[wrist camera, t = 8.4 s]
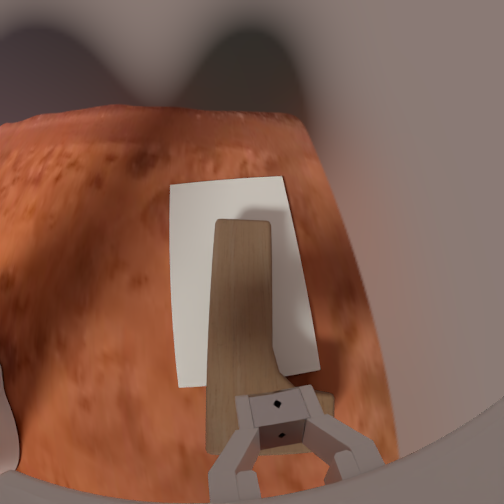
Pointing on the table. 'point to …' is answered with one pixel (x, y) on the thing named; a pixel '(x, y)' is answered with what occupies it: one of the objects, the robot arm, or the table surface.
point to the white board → (200, 267)
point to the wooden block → (242, 331)
